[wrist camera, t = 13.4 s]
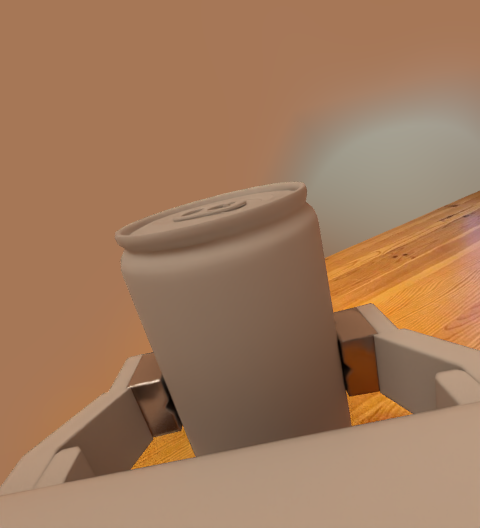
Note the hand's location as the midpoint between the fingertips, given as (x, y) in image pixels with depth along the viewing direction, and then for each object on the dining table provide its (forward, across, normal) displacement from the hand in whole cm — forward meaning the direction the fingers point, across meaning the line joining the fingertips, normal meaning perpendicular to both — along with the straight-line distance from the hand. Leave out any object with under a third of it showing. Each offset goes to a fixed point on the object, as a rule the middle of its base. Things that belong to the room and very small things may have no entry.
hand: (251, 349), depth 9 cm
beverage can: (-1, 0, +7) cm, 7 cm away
